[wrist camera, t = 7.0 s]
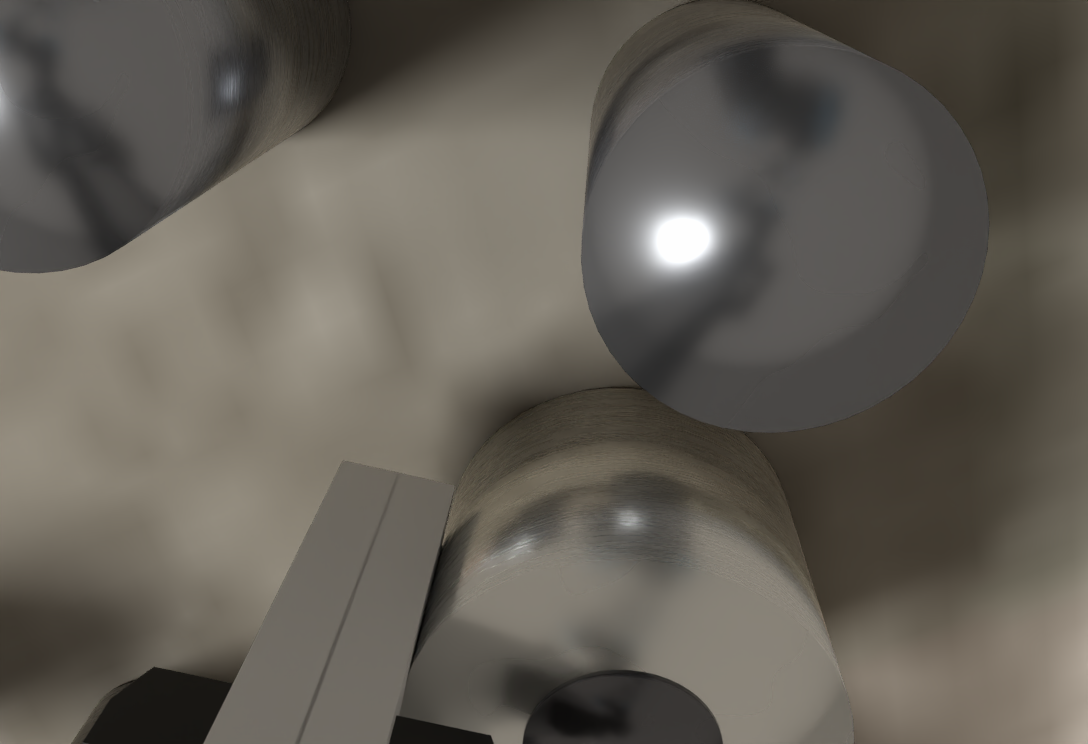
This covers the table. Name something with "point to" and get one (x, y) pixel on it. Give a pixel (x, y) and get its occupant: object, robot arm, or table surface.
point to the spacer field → (611, 187)
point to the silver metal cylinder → (624, 589)
